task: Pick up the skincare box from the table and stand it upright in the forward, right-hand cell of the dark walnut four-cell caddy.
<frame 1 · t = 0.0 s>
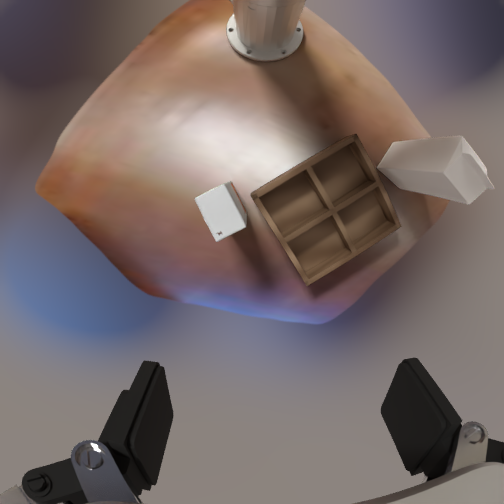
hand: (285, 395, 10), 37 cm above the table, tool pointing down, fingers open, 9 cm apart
skincare box: (227, 201, 45), on the table
milk: (396, 165, 43), on the table
walnut caddy: (325, 206, 45), on the table
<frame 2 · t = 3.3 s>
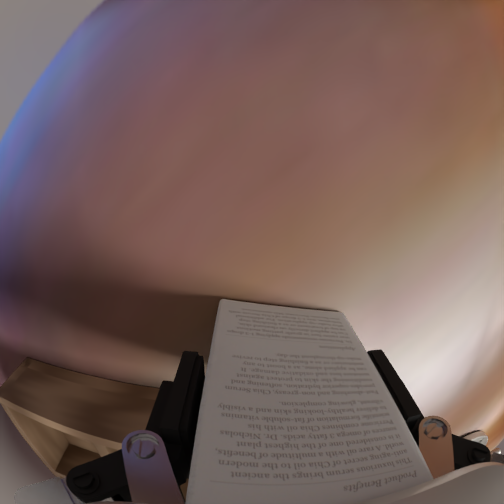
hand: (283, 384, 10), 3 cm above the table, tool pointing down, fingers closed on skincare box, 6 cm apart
skincare box: (277, 339, 14), on the table, touching gripper
walnut caddy: (150, 459, 17), on the table
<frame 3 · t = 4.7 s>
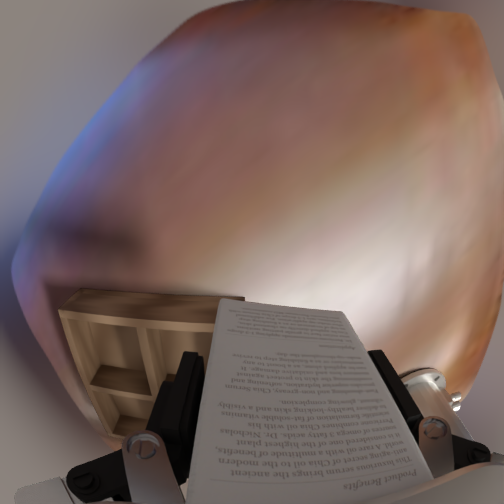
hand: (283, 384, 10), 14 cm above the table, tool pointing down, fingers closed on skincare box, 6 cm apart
skincare box: (277, 339, 14), point 11 cm above the table, touching gripper
walnut caddy: (166, 369, 27), on the table
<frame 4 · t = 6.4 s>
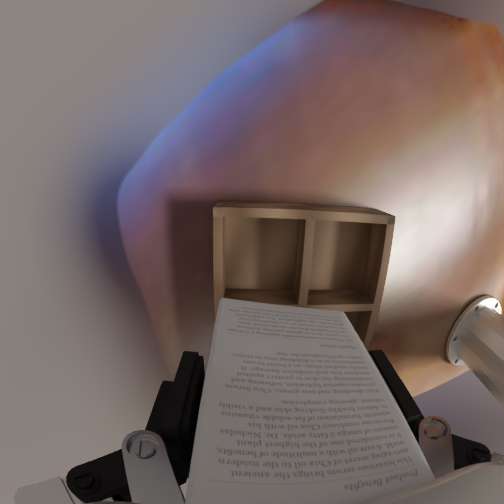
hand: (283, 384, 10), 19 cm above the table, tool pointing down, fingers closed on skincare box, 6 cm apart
skincare box: (277, 338, 14), point 16 cm above the table, touching gripper
walnut caddy: (295, 289, 30), on the table
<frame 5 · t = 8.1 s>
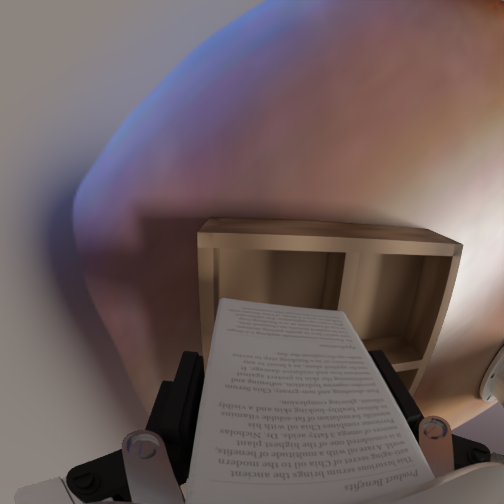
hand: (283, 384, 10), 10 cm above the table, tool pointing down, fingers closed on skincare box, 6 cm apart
skincare box: (277, 338, 14), point 7 cm above the table, touching gripper
walnut caddy: (317, 338, 21), on the table
when the fingers open (5 cm above the table, at t = 9.5 s): skincare box drops 1 cm, resting on walnut caddy.
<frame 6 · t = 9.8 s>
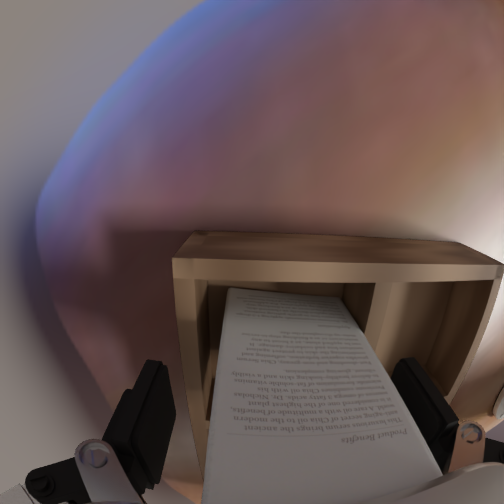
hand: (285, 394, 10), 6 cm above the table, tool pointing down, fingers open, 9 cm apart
skincare box: (281, 324, 15), point 1 cm above the table, touching walnut caddy
walnut caddy: (327, 372, 17), on the table
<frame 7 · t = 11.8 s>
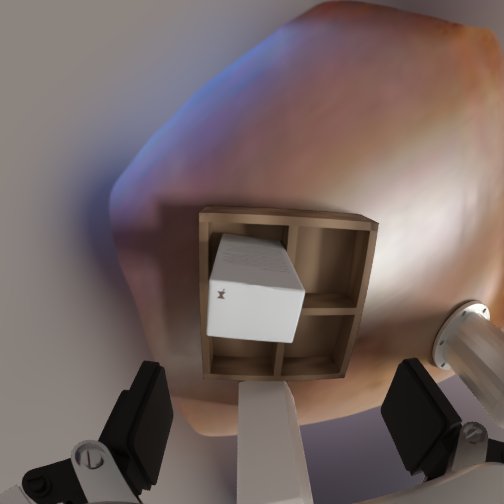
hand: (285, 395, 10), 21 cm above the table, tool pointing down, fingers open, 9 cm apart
skincare box: (250, 255, 29), point 1 cm above the table, touching walnut caddy
milk: (266, 389, 36), on the table
walnut caddy: (280, 292, 31), on the table
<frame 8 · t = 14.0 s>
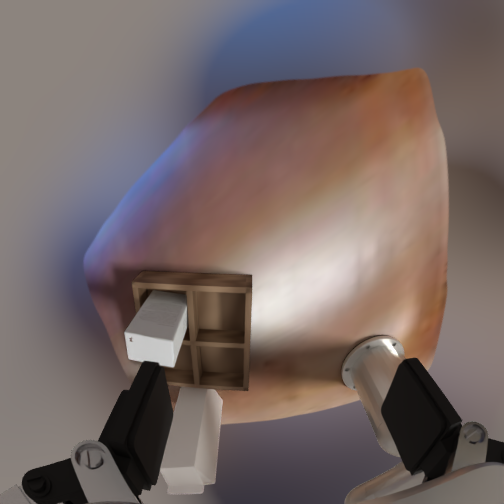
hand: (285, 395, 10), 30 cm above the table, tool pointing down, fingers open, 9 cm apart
skincare box: (172, 303, 41), point 1 cm above the table, touching walnut caddy
milk: (202, 393, 48), on the table
walnut caddy: (197, 327, 43), on the table
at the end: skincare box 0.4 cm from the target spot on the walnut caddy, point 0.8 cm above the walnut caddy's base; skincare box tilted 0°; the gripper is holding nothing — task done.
